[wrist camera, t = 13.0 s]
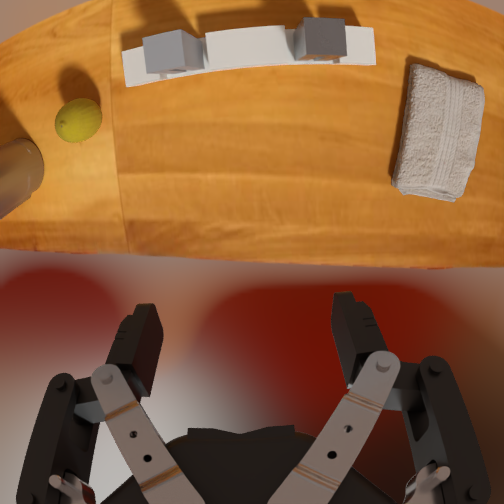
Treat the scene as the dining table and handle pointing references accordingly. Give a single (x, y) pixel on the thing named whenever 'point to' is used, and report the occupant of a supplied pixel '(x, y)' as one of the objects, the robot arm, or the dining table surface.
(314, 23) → the grey slotted block
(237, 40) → the rail
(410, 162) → the washcloth
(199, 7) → the dining table surface
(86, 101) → the lemon
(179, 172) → the dining table surface
